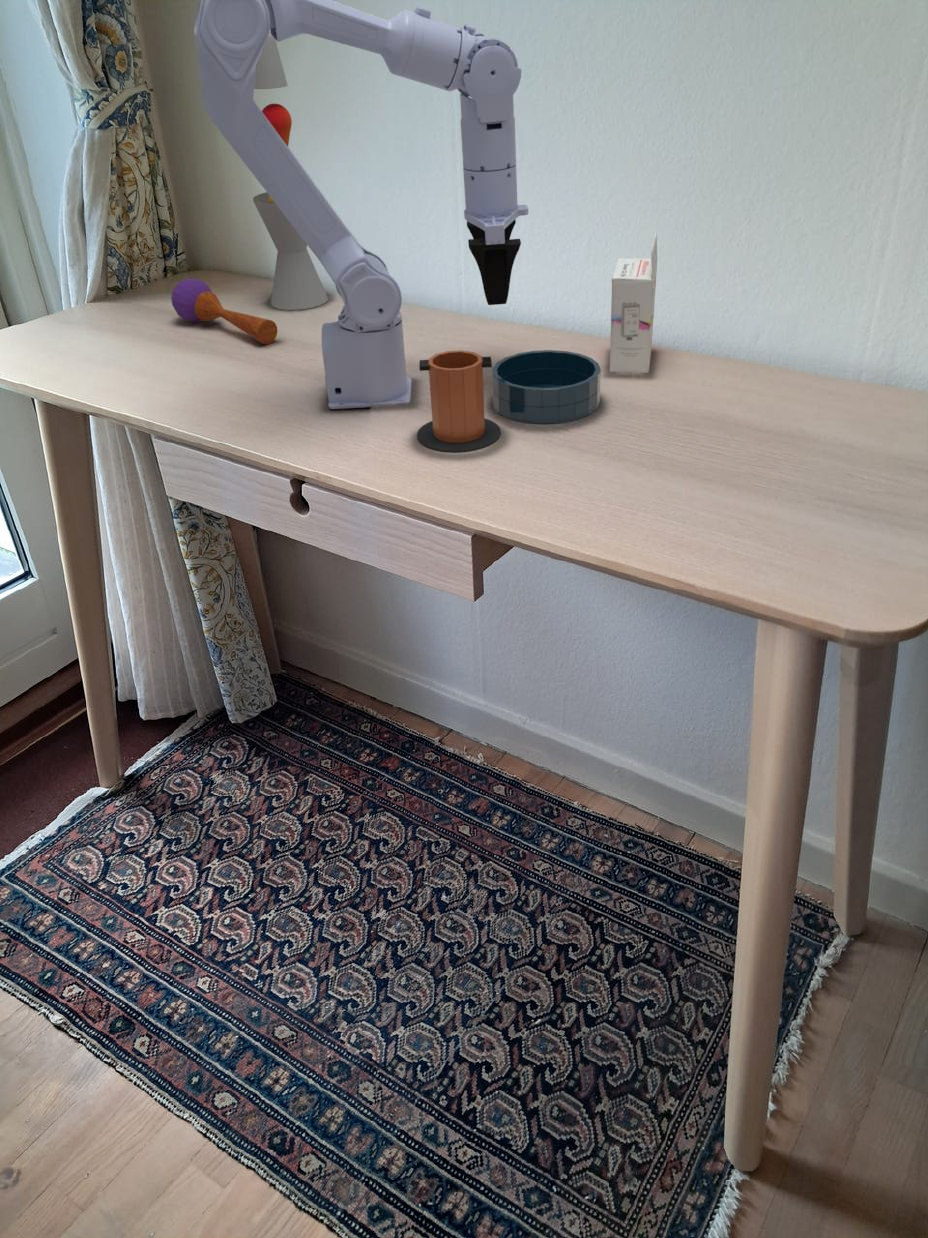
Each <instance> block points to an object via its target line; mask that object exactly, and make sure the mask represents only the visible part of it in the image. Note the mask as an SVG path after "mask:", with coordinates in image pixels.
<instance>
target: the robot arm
mask: <svg viewBox="0 0 928 1238" xmlns="http://www.w3.org/2000/svg"><path fill="white" fill-rule="evenodd" d="M431 14H432V11H431V10H430V9H427V8H425V7H420V6H416V7H415V9H414V11H412V10H409V9H403V10H401V11H400V12H398V13H397V14H395V15H394V16H393V17H391V18H388V19H385V18H382V17H379V16H377V15H374V14H371V13H368V12H367V11H363V10H359V9H357V8H355V7H352V6H349V5H346V4H343V3H341V2H338V1H334V0H198V4H197V12H196V17H195V21H194V23H195V24H194V29H193V31H194V40H195V47H196V56H197V63H198V64H197V65H198V74H199V80H200V81H199V82H200V89H201V97H202V98H201V99H202V105H203V109H204V111H205V112H206V114H207V117H208V118H209V119H210V121H211V122H212V123H213V124H214V125H215V127H216V128H217V130H218V131H219V132H220V133H221V134H222V136H223V137H224V139H225V140H226V141H227V142H228V144H229V145H230V146H231V148H232V149H233V150H234V152H235V153H236V154H237V156H238V157H239V158H240V159H241V161H242V162H243V163H244V165H245V166H246V167H247V169H248V170H249V171H250V172H251V174H252V175H253V177H254V178H255V179H256V180H257V181H258V183H259V184H260V185H261V186H262V188H263V189H264V191H265V193H266V192H267V193H268V194H269V196H270V197H271V198H272V200H273V201H274V202H275V203H276V205H277V206H278V207H279V209H280V210H281V211H282V213H283V214H284V215H285V216H286V218H287V219H288V220H289V222H290V223H291V224H292V226H293V227H294V228H295V229H296V231H297V232H298V233H299V235H300V236H301V237H302V239H303V240H304V241H305V242H306V244H307V247H308V248H309V249H310V250H311V252H312V253H313V254H314V255H315V257H316V258H317V260H318V261H319V263H320V264H321V265H322V267H323V269H324V270H325V271H326V273H327V274H328V276H329V277H330V279H331V280H332V282H333V283H334V286H335V289H336V291H337V293H338V295H339V296H340V298H341V299H342V302H343V307H342V309H341V311H340V314H339V315H338V316H337V319H338V320H337V321H332V322H326V323H325V322H324V323H322V326H321V351H322V352H321V353H322V361H323V367H324V369H323V370H324V380H325V385H326V391H327V399H328V409H329V410H340V409H342V410H343V409H360V408H361V409H363V408H371V407H372V405H388V404H405V403H406V404H407V403H410V402H411V393H412V377H411V376H407V367H406V366H407V365H406V352H405V341H404V328H403V327H404V326H403V315H402V312H400V311H401V309H402V308H401V307H402V300H403V297H402V291H401V288H400V286H399V284H398V283H397V281H396V280H395V279H394V278H393V277H392V275H391V274H390V273H389V270H388V268H387V265H386V264H385V262H384V261H383V259H382V258H381V257H379V255H377V254H376V253H373V252H372V251H369V250H367V249H366V248H364V246H362V245H361V243H360V242H359V241H358V239H357V238H356V237H355V235H354V234H353V233H352V232H351V230H350V229H349V228H348V227H347V226H346V224H345V222H344V221H343V220H342V218H341V217H340V215H338V214H337V212H336V210H335V209H334V207H332V205H331V204H330V202H329V201H328V199H327V198H326V197H325V195H324V194H323V193H322V191H321V190H320V189H319V187H318V186H317V185H316V183H315V182H314V180H313V179H312V178H311V176H310V175H309V173H308V172H307V171H306V170H305V167H304V166H302V164H301V163H300V161H299V160H298V158H296V155H295V154H294V153H293V151H292V150H291V149H290V148H289V145H288V146H287V145H286V144H285V142H284V141H283V140H282V138H281V137H280V135H279V134H278V133H277V131H276V130H275V129H274V127H273V126H272V125H271V123H270V122H269V120H268V119H267V118H266V116H265V115H264V114H263V112H262V109H261V107H259V106H258V104H257V103H256V101H255V100H254V94H255V89H254V85H255V76H256V68H255V67H256V64H257V62H258V59H259V57H260V55H261V53H262V50H263V48H264V45H265V43H266V41H267V38H268V35H269V33H271V35H272V36H273V37H274V38H275V40H276V42H281V41H285V40H287V39H291V38H293V37H297V36H299V35H304V34H305V35H310V36H313V37H317V38H321V39H324V40H328V41H331V42H335V43H338V44H342V45H345V46H349V47H353V48H357V49H359V50H364V51H367V52H369V53H370V52H371V53H374V54H378V55H380V56H381V57H382V59H383V60H384V62H385V65H386V67H387V69H388V71H389V72H390V73H391V75H394V76H398V77H401V78H405V79H408V80H410V81H415V82H416V83H417V82H418V83H420V84H424V85H427V86H431V87H433V88H437V89H440V90H444V91H447V92H453V91H455V90H457V91H458V92H459V101H460V115H461V118H460V135H461V150H462V151H461V152H462V169H463V171H462V172H463V185H464V186H463V187H464V202H465V204H464V205H465V209H464V211H463V217H464V220H465V221H466V227H467V229H468V230H469V233H470V235H471V237H472V238H470V239H467V241H468V242H467V243H468V249H469V251H470V253H471V255H472V256H473V258H474V260H475V262H476V265H477V267H478V270H479V273H480V274H479V275H480V277H481V282H482V286H483V293H484V296H485V300H486V303H487V305H488V306H494V305H495V306H496V305H497V306H498V305H506V304H507V303H508V302H507V301H508V297H509V293H510V285H511V276H512V271H513V266H514V263H515V260H516V257H517V255H518V253H519V250H520V249H521V245H522V241H521V238H511V236H512V233H513V230H514V227H515V226H516V223H517V218H519V217H520V216H527V215H529V206H528V205H527V204H518V179H517V148H516V147H517V144H516V142H517V141H516V117H515V112H514V111H515V110H514V109H515V108H514V96H515V93H516V92H517V90H518V88H519V85H520V82H521V79H522V69H521V68H520V67H519V64H518V60H517V57H516V55H515V53H514V51H513V50H512V49H511V47H510V46H509V45H508V44H507V43H505V42H503V41H502V40H499V39H496V38H492V37H489V36H486V35H484V34H483V33H480V32H478V33H476V31H477V29H476V27H475V26H473V25H469V24H467V23H466V24H463V27H460V26H456V25H453V24H450V23H447V22H444V21H442V20H438V19H437V18H432V17H431Z"/></svg>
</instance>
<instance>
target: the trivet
mask: <svg viewBox="0 0 928 1238" xmlns="http://www.w3.org/2000/svg"><path fill="white" fill-rule="evenodd" d="M484 423H485V432H484V434H483V435H482V436H481V437H480V438H478V439H476V440H473V441H470V442H464V443H449V442H444V441H441V440H439V439H437V438H436V437H435V436H434V434H433V423H432V420H431V421H428V422H426V423H425V424H424V425H422V426H421V427H419V429H418V431H417V433H416V440H417V442H418V443H419V444H420V445H421V446H423V447H424V448H426V449H428V450H432V451H436V452H441V453H447V454H449V453H450V454H457V453H458V454H459V453H460V454H461V453H471V452H475V451H479V450H483V449H485V448H488V447H490V446H492V445H494V444H495V443H497V441H499V439H500V438H501V435H502V430H501V428H500V425H498V424H497V423H496V422H495V421H492V420H490V419H488V418H485V417H484Z"/></svg>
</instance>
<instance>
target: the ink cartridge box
mask: <svg viewBox="0 0 928 1238" xmlns="http://www.w3.org/2000/svg"><path fill="white" fill-rule="evenodd" d="M650 255H651V257H650V258H649V257H648V258H646V257H645V258H643V257H641V258H640V257H639V258H637V257H635V258H633V257H627V258H626V257H623V258H622V257H621V258H617V259H616V263H615V265H614V268H613V271H612V274H611V303H610V304H611V307H610V309H611V310H610V313H611V314H610V346H609V347H610V349H609V372H610V373H643V374H648V373H650V372H649V371H650V366H651V365H650V364H651V355H652V345H653V343H652V342H653V332H654V331H653V330H654V316H655V301H656V287H657V286H656V285H657V271H658V234H657V232H655V233H654V237H653V241H652V246H651V251H650Z"/></svg>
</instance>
